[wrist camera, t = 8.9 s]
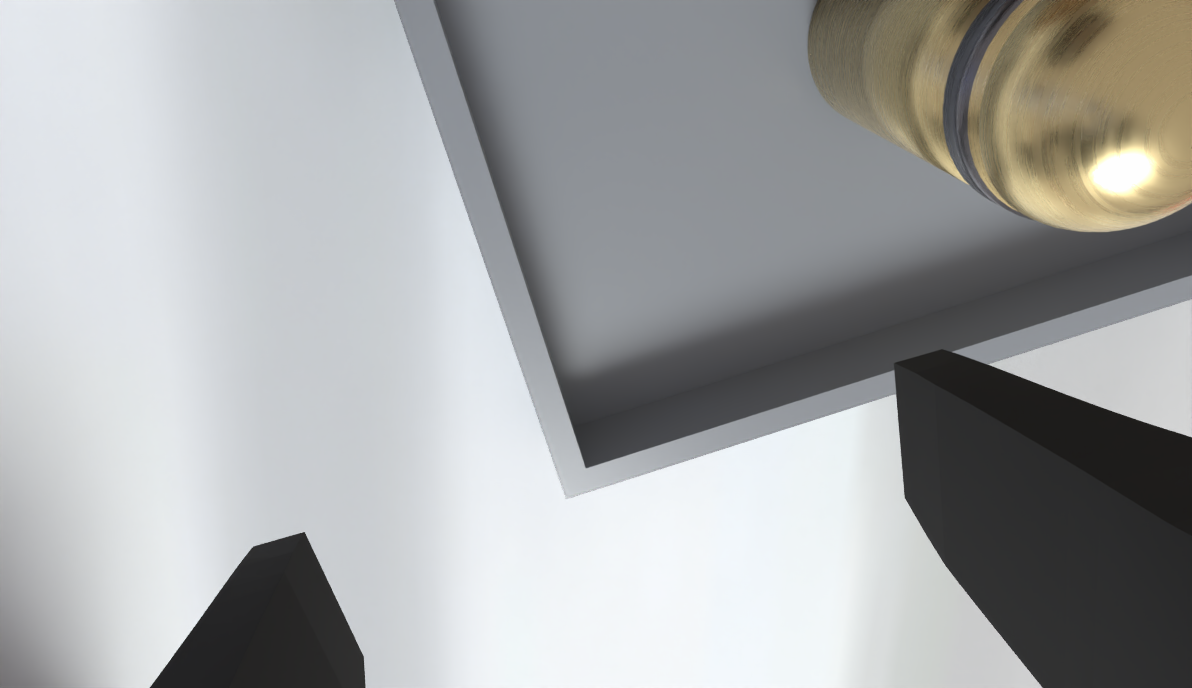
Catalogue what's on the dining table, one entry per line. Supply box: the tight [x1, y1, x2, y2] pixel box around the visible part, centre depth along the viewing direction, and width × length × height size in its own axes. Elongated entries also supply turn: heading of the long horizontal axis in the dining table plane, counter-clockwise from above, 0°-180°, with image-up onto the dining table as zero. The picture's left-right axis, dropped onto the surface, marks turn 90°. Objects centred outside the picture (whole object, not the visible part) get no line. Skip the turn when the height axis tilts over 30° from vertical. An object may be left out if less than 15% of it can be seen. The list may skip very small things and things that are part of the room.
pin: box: [808, 0, 1192, 232], centre depth 15 cm, size 4×4×8 cm
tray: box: [394, 0, 1192, 499], centre depth 18 cm, size 18×14×2 cm
